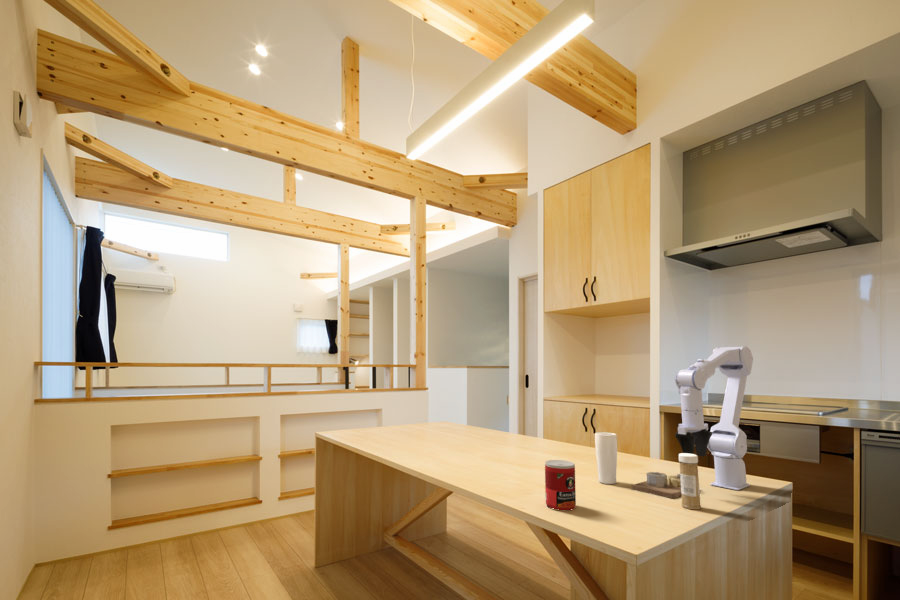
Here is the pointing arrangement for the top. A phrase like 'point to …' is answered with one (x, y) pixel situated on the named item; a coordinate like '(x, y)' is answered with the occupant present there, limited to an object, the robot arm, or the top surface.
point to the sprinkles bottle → (689, 481)
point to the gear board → (669, 492)
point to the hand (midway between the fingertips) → (695, 457)
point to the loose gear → (657, 479)
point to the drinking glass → (606, 456)
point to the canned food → (560, 484)
